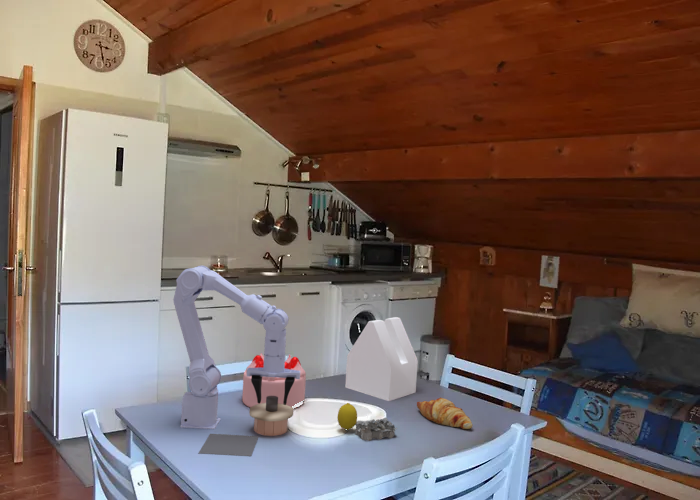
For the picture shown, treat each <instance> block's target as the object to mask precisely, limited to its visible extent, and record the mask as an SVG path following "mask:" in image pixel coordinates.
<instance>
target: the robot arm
mask: <svg viewBox="0 0 700 500" xmlns="http://www.w3.org/2000/svg"><path fill="white" fill-rule="evenodd" d="M175 281H176V287H175V290H174V296H173V299H172V300H173V305H174V309H175V312H176V316H177V320H178V323H179V327H180V329H181V334H182V337H183V341H184V344H185V348H186V352H187V355H188V359H189V362H190V364H189V369H188V375H189V382H188V387H189V390H190V391H186V392H184V394H183V397H182V402H181V413H180V414H181V416H180V417H181V418H180V419H181V421H180V426H179V427H180V428H185V429H186V428H187V429H203V430H204V429H205V430H206V429H207V430H215V429H216V428H217V427H218V425H219V423H220V421H221V417H218V404H219V403H218V402H219V401H218V400H219V389H218V385H219V384H220V382H221V380H222V373H221V371H220V369H219V368H218V367H217V365H216V363H215V360H214V359H213V358H212V357H211V356H210V355H209V350H208V347H207V343H206V341H205V336H204V333H203V328H202V325H201V322H200V317H199V314H198V312H197V311H198V309H197V306H196V303H195V301H196V300H197V298H198V297H199V295H200V294H201V292H203V291H214V292H215V291H216V292H217V293H220V294H221V295H222V296H224V297H226V298H228V299H229V300H231V301H233V302H234V303H236V304H238V305H239V306H240V310H241V312H242V313H244V314H245V315H246V316H248V317H250V318H251V319H253V320H254V321H256V323H259V324H260V325H263V328H264V331H265V336H264V349H263V351H264V353H263V356H264V368H248V369H247V376H249V377H250V376H252V379H251V382H252V384H253V386H254V389H255V392H256V395H257V402H258V403H260V402H261V385H262V377H279V378H286V379H285V394H284V401H283V405H286V403H287V397H288V394H289V392H290V389H291V387H292V385H293V383H294V381H295V378H296V379H300V371H298V370H291V369H284V367H285V361H286V346H287V345H286V344H287V338H286V336H287V335H286V334H287V329H286V327H287V326H288V324H289V319H290V318H289V316H288V313H287V312H285V311H284V309H282V308H277V306H276V305H271V303H270V304H269V303H268V302H267V301H265V300H264V299H262V298H263V296H261V295H260V294H255V293H252V294H246V293H245V292H244V291H242V290H241V289H239V288H238V287H236V286H235V285H234V284H232V283H231V282H229V280H227V279H226V278H224V277H223V276H221V275H220V274H219V273H217V272H216V271H215V270H212V269H210V267H207V266H206V265H197V266H195V267H190V268H186V269H184V270H183V271H182V272H181V273H180V274H179V276H178V277H177V278H176V280H175Z"/></svg>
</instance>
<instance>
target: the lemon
mask: <svg viewBox="0 0 700 500" xmlns="http://www.w3.org/2000/svg"><path fill="white" fill-rule="evenodd" d="M337 412H338V413H337V423H338V426H339V427H340V428H342V427H343V428H345V429H347V430H348V431H349V430H351V429H353V428H354V427H356V425H355V424H356V422H357V421H358V412H357V409H356V407H355V406H354V405H353V404H351V403H350V402H347V403H344V404H342V406H340V407H339V409H338V411H337ZM343 428H342V429H343ZM345 429H344V430H345Z"/></svg>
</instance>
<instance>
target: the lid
mask: <svg viewBox="0 0 700 500" xmlns="http://www.w3.org/2000/svg"><path fill="white" fill-rule="evenodd" d="M248 412H249V416H250V417H251V418H253V419H254V418H255V419H258V420H263V421H282V420H286V419H288V420H289V419H291V418H292V417H293V416H294V409H293V408H292V407H290V406H288V405H283V404H279V403H278V397H277V396H267V397H266V403H262V404H257V405H254V406H252V407H249V411H248Z"/></svg>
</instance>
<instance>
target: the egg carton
mask: <svg viewBox="0 0 700 500" xmlns="http://www.w3.org/2000/svg"><path fill="white" fill-rule="evenodd" d="M396 430H398V427H395V424H393V423H392V422H391V421H390V420H389V419H388V418H387V417H384V418H380V419H371V420H357V422H356V424H355V435H356V436H360V439H361V440H362V441H372V440H374V439H377V440H382V439H383V438H388V439H392V438H393V437H394V436H395V435H396V434H395V433H396Z"/></svg>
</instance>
